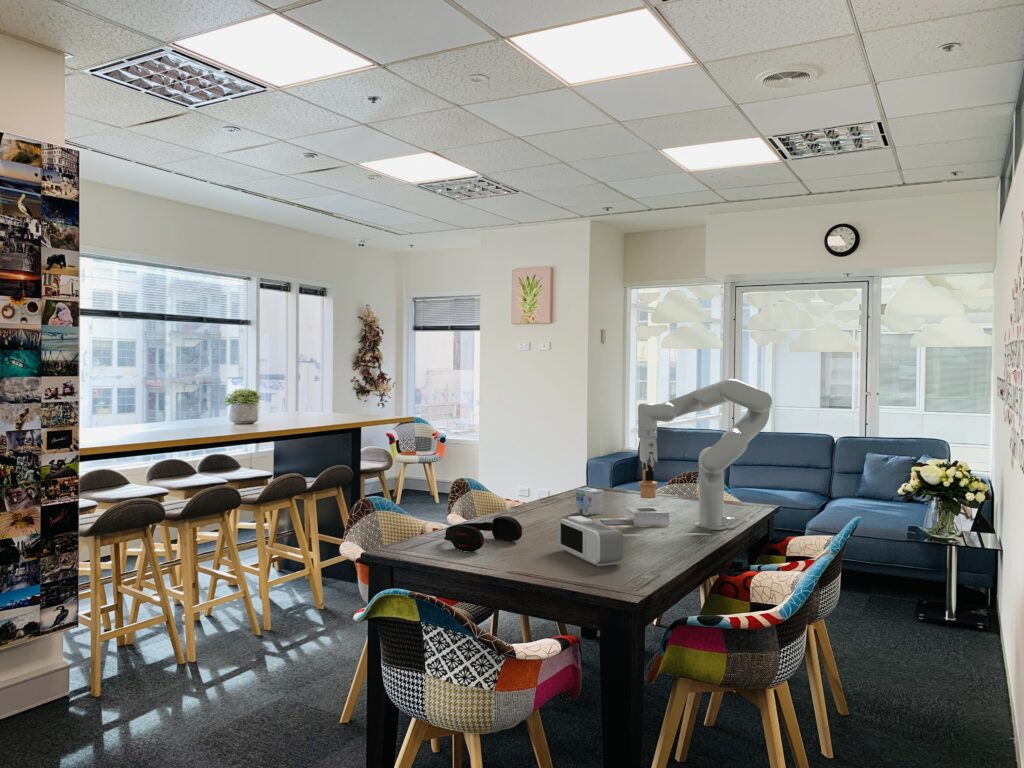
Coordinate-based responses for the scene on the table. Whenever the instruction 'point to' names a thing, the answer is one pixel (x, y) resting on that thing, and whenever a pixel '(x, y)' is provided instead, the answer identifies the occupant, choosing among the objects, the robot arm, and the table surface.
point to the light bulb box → (589, 501)
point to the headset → (472, 538)
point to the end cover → (647, 487)
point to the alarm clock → (590, 540)
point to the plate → (639, 518)
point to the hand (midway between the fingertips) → (647, 479)
